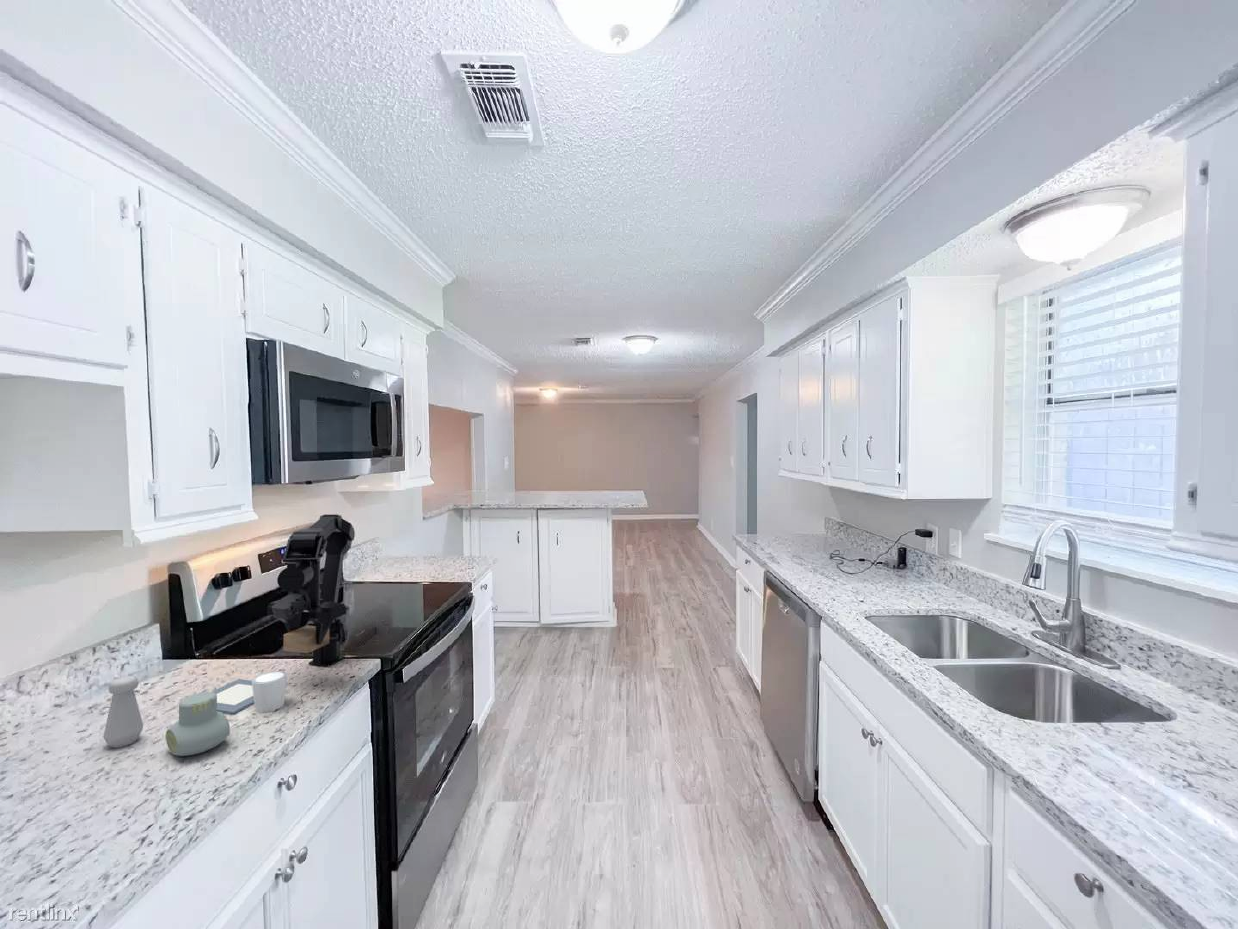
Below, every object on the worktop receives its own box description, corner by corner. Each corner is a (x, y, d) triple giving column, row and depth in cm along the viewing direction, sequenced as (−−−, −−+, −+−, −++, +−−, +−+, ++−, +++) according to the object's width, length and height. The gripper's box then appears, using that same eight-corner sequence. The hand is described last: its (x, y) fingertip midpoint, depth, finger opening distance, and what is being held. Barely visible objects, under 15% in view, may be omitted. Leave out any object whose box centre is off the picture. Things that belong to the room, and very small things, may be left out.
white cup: (248, 716, 116) (248, 685, 115) (255, 702, 122) (255, 673, 122) (284, 710, 118) (284, 680, 118) (289, 697, 125) (289, 668, 124)
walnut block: (306, 640, 135) (306, 625, 135) (329, 643, 133) (329, 627, 133) (283, 650, 128) (283, 634, 128) (307, 653, 126) (307, 637, 126)
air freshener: (162, 747, 103) (162, 698, 103) (213, 730, 110) (213, 683, 110) (181, 767, 97) (181, 714, 97) (233, 747, 104) (233, 698, 103)
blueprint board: (239, 681, 133) (239, 678, 133) (285, 687, 130) (285, 684, 130) (183, 707, 119) (183, 704, 119) (233, 714, 116) (233, 711, 116)
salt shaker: (98, 745, 103) (98, 680, 103) (135, 731, 108) (135, 670, 108) (111, 753, 101) (110, 687, 100) (148, 739, 106) (148, 676, 105)
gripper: (247, 586, 124) (247, 651, 125) (313, 592, 120) (313, 658, 121) (286, 576, 135) (285, 635, 136) (348, 580, 131) (347, 642, 132)
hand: (306, 642), depth 131 cm, fingers closed on walnut block, 7 cm apart
